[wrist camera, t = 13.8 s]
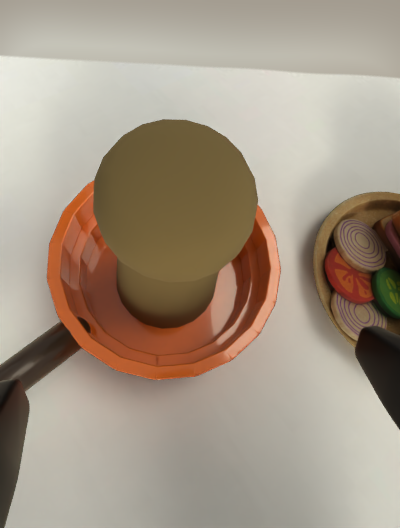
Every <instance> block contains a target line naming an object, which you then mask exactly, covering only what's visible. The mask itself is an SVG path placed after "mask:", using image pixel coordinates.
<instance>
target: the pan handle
mask: <svg viewBox="0 0 400 528" xmlns="http://www.w3.org/2000/svg"><path fill="white" fill-rule="evenodd" d="M77 317H78V316H77ZM78 319H79V321H80V322H81V323H82V325H83V326H84V327H85V328H86V330H87V331H88V332H89V333H91V328H90V325H89V323H88V322H87V321H86V320H85V319H83V318H81V317H78ZM81 348H82V347H80V346H79V344H78V343H77V342H76V340H75V339H74V337H73V336H72V334H71V332H70V330H68V329H67V328H66V327H65V325H64V324H63V323H62V321H60V322H59V323H58V324H56V325H55V326H53V327H52V328H51V329H49V330H48V331H47V332H45V333H44V334H42V335H41V336H40V337H38V338H37V339H36V340H34V341H33V342H31V343H30V344H29V345H27V346H26V347H24V348H23V349H22V350H20V351H19V352H18V353H16V354H15V355H13V356H12V357H11V358H9V359H8V360H7V361H5V362H4V363H2V364H1V365H0V381H4V380H11V379H19V380H20V381H21V383H22V385H23V388H24V391H26V390H28V389H29V388H30V387H32V386H33V385H34V384H36V383H37V382H38V381H39V380H41V379H42V378H43V377H45V376H46V375H47V374H49V373H50V372H51V371H52V370H54V369H55V368H56V367H58V366H59V365H60V364H62V363H63V362H64V361H65V360H67V359H68V358H69V357H71V356H72V355H73V354H74V353H76V352H77V351H78V350H80V349H81Z"/></svg>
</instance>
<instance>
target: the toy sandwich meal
mask: <svg viewBox="0 0 400 528" xmlns="http://www.w3.org/2000/svg"><path fill="white" fill-rule="evenodd" d="M313 269H314V278H315V282H316V287H317V290H318V293H319V296H320V299H321V301H322V304H323V306H324V308H325V310H326V312H327V314H328V316H329V317H330V319H331V321H332V322H333V324H334V325H335V326H336V328H337V329H338V330H339V332H340V333H341V334H342V335H343V336H344V337H345V339H346V340H347V341H348V342H349V343H350V344H351V345H352V346H354V347H356V343H357V340H358V336H359V333H360V330H361V329H362V328H364V327H369V326H379V327H381V328H384V329H386V330H388V331H390V332H393V333H395V334H397V335H400V194H397V193H390V192H370V193H364V194H360V195H357V196H354V197H352V198H349V199H347V200H346V201H344V202H342V203H341V204H340V205H338V206H337V207H336V208H335V209H334V210H333V211H332V212H331V213H330V214H329V215H328V216H327V218H326V219H325V221H324V222H323V224H322V225H321V227H320V230H319V232H318V235H317V238H316V241H315V246H314V254H313Z"/></svg>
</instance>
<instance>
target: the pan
mask: <svg viewBox="0 0 400 528" xmlns="http://www.w3.org/2000/svg"><path fill="white" fill-rule="evenodd" d="M93 194H94V181H92V182H91V183H89V184H87V185H86V186H85V187H84V188H83V190H82V191H81V192H80V193H79V194H78V195H77V196H76V197H75V198H74V200H73V201H72V202H71V203H70V204H69V205H68V206H67V207H66V208H65V210H64V211H63V213H62V215H61V218H60V220H59V222H58V225H57V227H56V229H55V231H54V234H53V236H52V238H51V241H50V243H49V254H48V268H47V282H48V285H49V288H50V292H51V295H52V299H53V302H54V306H55V309H56V312H57V315H58V317H59V319H60V320H61V321H62V323H63V324H64V325H65V327H66V328H67V329H68V330H70V332H71V334H72V336H73V337H74V339H75V340H76V342H77V343H78V344H79V346H80V347H82V349H84V350H85V351H87V352H88V353H90V354H91V355H93V356H94V357H96V358H98V359H99V360H101V361H102V362H104V363H105V364H107V365H108V366H110V367H111V368H113V369H116V371H120V372H124V373H128V374H132V375H136V376H140V377H144V378H148V379H152V380H155V379H156V380H164V379H175V378H186V377H195V376H198V375H201V374H203V373H205V372H207V371H210V370H212V369H214V368H216V367H219V366H221V365H223V364H225V363H227V362H230V361H231V360H233V359H234V358H235V357H236V356H237V355H238V354H239V353H240V352H242V351H243V350H244V349H245V348H246V347H247V346H248V345H249V344H250V343H251V342H252V341H253V340H254V339H255V338H256V337H257V336H258V335H259V334H260V332H261V331H262V329H263V327H264V325H265V323H266V321H267V319H268V317H269V315H270V313H271V311H272V310H273V308H274V306H275V303H276V298H277V292H278V285H279V279H280V273H281V267H280V261H279V255H278V249H277V243H276V238H275V235H274V233H273V231H272V229H271V227H270V225H269V223H268V221H267V219H266V217H265V215H264V213H263V211H262V209H261V208H260V207H259V206H258V205H257V210H256V216H255V221H254V226H253V231H252V233H251V235H250V236H249V238H248V240H247V241H246V243H245V245H244V246H243V248H242V250H241V251H240V253H239V254H238V255H237V256H236V257H235V258H234V259H233V260H232V261H230V262H229V263H228V264H227V265H226V266H224V267H223V268H222V269H221V270H220V271H219V273H218V278H217V282H216V287H215V292H214V296H213V299H212V301H211V302H210V304H209V306H208V307H207V309H206V311H205V312H203V313H202V314H201V315H200V316H199V317H198V318H197V319H195V320H194V321H193V322H190V323H188V324H185V325H183V326H181V327H177V328H164V329H161V328H157V327H153V326H149V325H146V324H144V323H143V322H141V321H139V320H138V319H136V318H135V317H133V316H132V315H131V314H130V313H129V311H128V310H127V309H126V308H125V306H124V305H123V304H122V302H121V299H120V296H119V294H118V291H117V256H116V255H115V254H114V253H113V252H112V250H111V249H110V248H109V247H108V245H107V244H106V243H105V241H104V239H103V237H102V235H101V232H100V229H99V226H98V224H97V221H96V218H95V215H94V213H93ZM77 316H78V317H81V318H83V319H85V320H86V321H87V322H88V323H89V325H90V328H91V333H89V332H88V331H87V330H86V328H85V327H84V326H83V325H82V323H81V322H80V321H79V319H78V317H77Z"/></svg>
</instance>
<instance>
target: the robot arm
mask: <svg viewBox="0 0 400 528" xmlns="http://www.w3.org/2000/svg"><path fill="white" fill-rule="evenodd" d="M355 355H356V358H357V360H358V362H359V363H360V365H361V367H362V369H363V370H364V372H365V374H366V376H367V378H368V379H369V381H370V383H371V385H372V386H373V388H374V390H375V392H376V394H377V395H378V397H379V399H380V401H381V402H382V404H383V406H384V407H385V409H386V410H387V412H388V413H389V415H390V416H391V418H392V419H393V421H394V422H395V424H396V425H397V427H398V428H399V429H400V335H397V334H395V333H393V332H390V331H388V330H386V329H384V328H381V327H379V326H369V327H364V328H362V329H361V330H360V333H359V336H358V340H357V343H356V347H355ZM28 417H29V401H28V398H27V396H26V393H25V391H24V388H23V385H22V383H21V381H20V380H19V379H11V380H4V381H0V528H4V527H5V524H6V520H7V516H8V513H9V509H10V506H11V502H12V499H13V495H14V491H15V487H16V483H17V479H18V474H19V469H20V463H21V457H22V452H23V446H24V440H25V434H26V428H27V422H28Z"/></svg>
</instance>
